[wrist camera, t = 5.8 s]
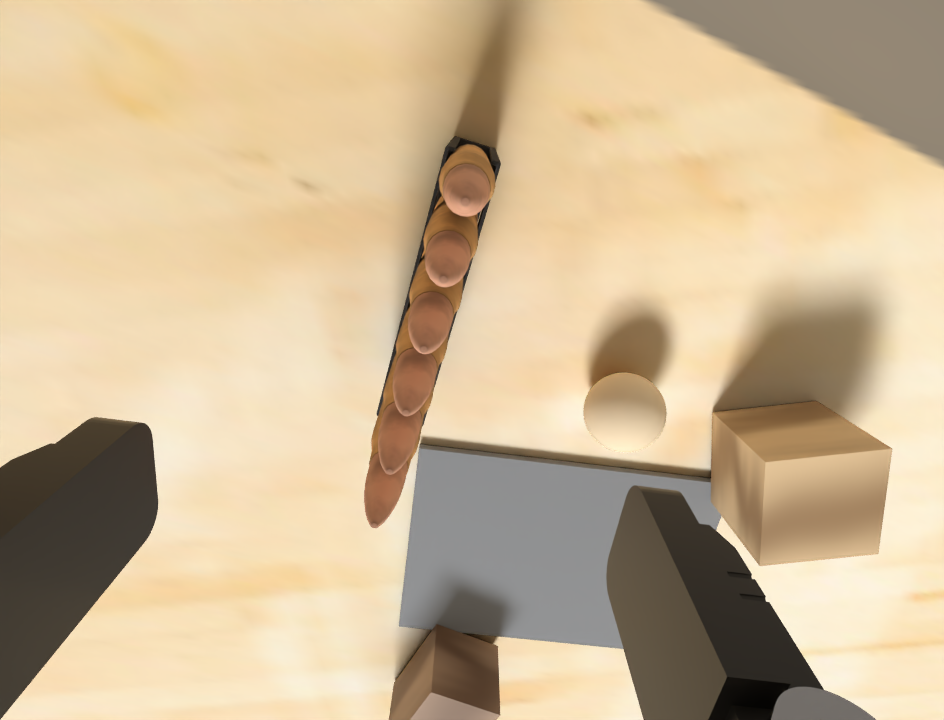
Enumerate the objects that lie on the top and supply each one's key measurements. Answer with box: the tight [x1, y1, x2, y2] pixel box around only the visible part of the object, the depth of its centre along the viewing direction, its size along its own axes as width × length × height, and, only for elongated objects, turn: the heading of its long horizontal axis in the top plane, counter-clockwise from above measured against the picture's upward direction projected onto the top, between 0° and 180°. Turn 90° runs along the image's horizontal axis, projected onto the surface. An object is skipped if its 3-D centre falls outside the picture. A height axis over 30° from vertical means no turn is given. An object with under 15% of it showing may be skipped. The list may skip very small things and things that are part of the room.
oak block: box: [711, 401, 892, 566], centre depth 25 cm, size 5×5×5 cm
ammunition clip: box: [364, 136, 501, 528], centre depth 19 cm, size 11×2×12 cm, turn 164°
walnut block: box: [389, 624, 500, 720], centre depth 32 cm, size 4×6×4 cm, turn 153°
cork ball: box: [584, 372, 666, 453], centre depth 25 cm, size 4×4×4 cm
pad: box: [399, 444, 721, 649], centre depth 30 cm, size 12×16×1 cm
